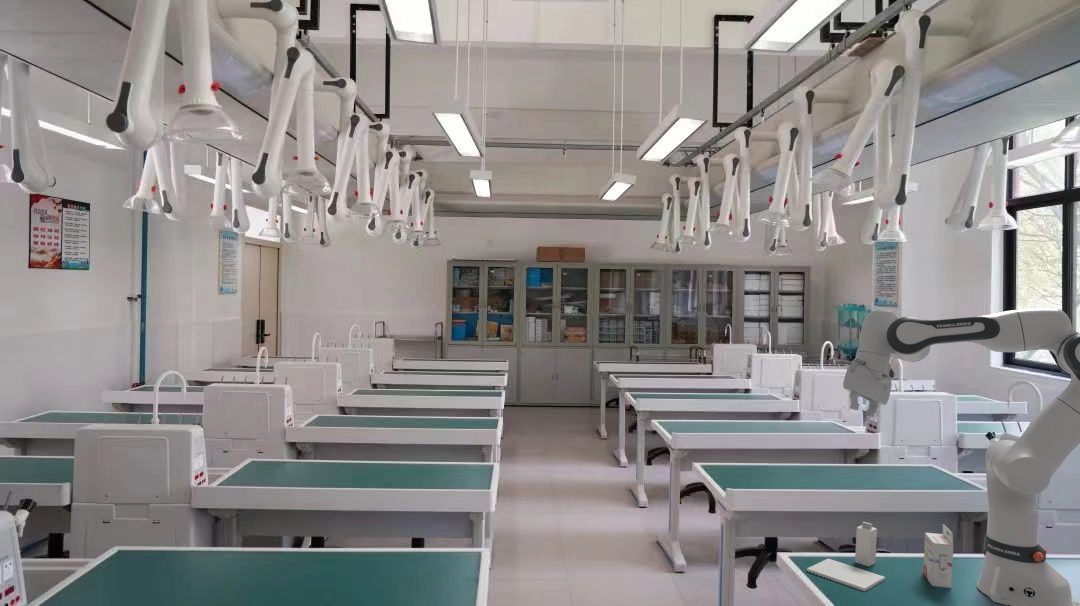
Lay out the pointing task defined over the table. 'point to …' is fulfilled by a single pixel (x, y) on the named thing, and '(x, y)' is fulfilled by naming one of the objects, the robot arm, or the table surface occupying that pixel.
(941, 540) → the ink cartridge box
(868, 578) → the white spiral notebook
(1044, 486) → the robot arm
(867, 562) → the white tall rectangular block
